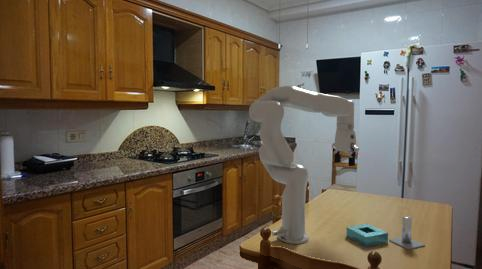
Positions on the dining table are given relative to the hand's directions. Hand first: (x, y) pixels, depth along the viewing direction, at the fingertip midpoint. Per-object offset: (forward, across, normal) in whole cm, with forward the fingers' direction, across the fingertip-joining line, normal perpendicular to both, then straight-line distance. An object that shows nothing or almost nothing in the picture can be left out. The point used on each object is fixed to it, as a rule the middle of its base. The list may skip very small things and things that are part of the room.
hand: (344, 164), depth 143 cm
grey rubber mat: (+28, -27, -9) cm, 40 cm away
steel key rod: (+28, -27, -9) cm, 40 cm away
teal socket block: (+28, -18, +3) cm, 34 cm away
